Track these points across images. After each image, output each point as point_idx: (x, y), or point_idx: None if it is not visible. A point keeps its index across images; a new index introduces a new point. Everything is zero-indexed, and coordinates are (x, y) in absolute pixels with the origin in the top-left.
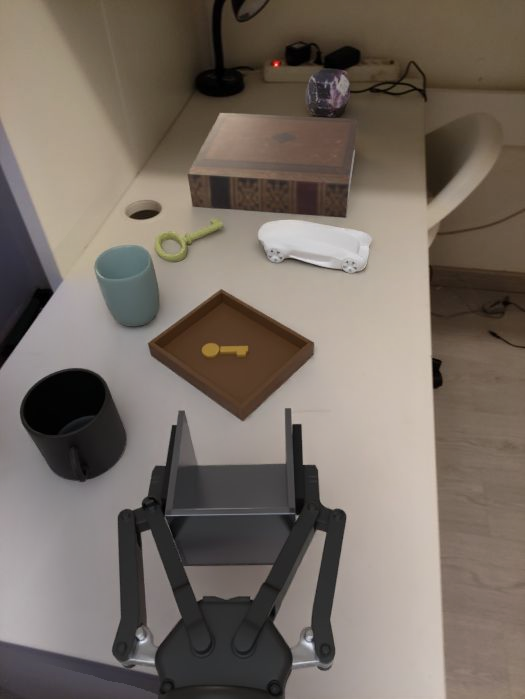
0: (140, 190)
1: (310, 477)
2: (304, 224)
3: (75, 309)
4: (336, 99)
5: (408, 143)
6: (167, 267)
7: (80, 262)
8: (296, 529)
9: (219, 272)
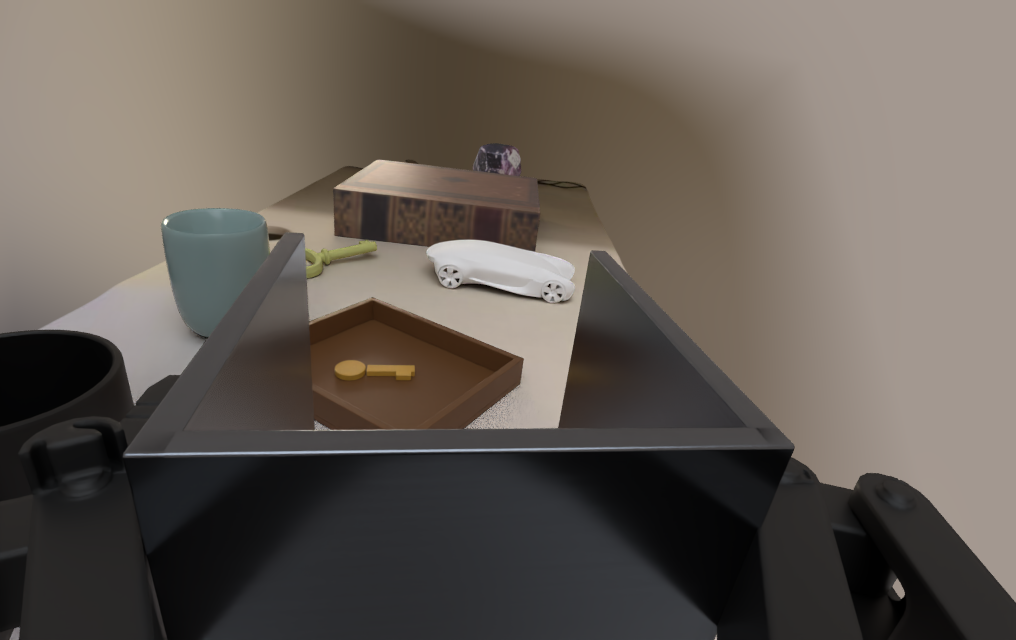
0: (264, 218)
1: None
2: (489, 243)
3: (117, 317)
4: (508, 170)
5: (587, 215)
6: None
7: (149, 270)
8: (779, 545)
9: (368, 292)
